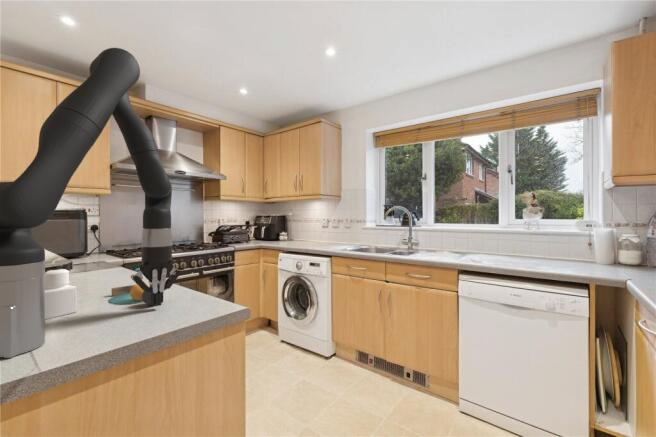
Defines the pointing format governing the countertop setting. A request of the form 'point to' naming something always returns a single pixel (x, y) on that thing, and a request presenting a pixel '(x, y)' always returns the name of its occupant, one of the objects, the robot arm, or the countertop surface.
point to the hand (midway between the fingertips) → (156, 305)
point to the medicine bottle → (59, 294)
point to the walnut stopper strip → (121, 290)
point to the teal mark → (123, 299)
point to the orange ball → (137, 292)
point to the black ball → (146, 297)
